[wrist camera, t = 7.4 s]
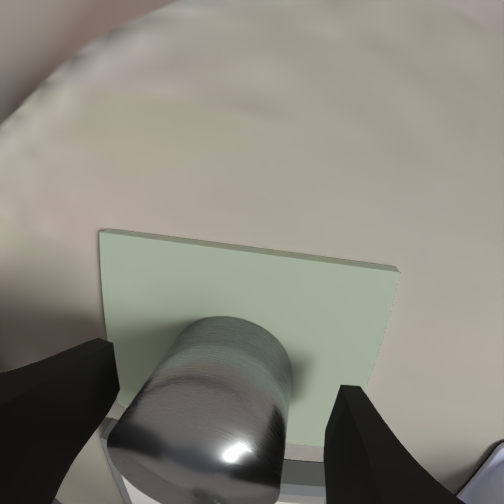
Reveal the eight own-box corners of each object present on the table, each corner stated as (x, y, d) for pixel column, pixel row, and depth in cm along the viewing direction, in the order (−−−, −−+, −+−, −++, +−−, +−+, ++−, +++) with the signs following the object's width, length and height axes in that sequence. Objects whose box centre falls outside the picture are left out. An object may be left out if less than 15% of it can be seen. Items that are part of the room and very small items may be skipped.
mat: (395, 266, 10) (400, 272, 9) (340, 437, 12) (341, 447, 11) (108, 228, 11) (99, 232, 10) (124, 397, 13) (118, 405, 12)
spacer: (303, 328, 10) (298, 447, 5) (279, 422, 11) (264, 529, 6) (172, 304, 11) (92, 394, 6) (172, 399, 12) (120, 491, 7)
